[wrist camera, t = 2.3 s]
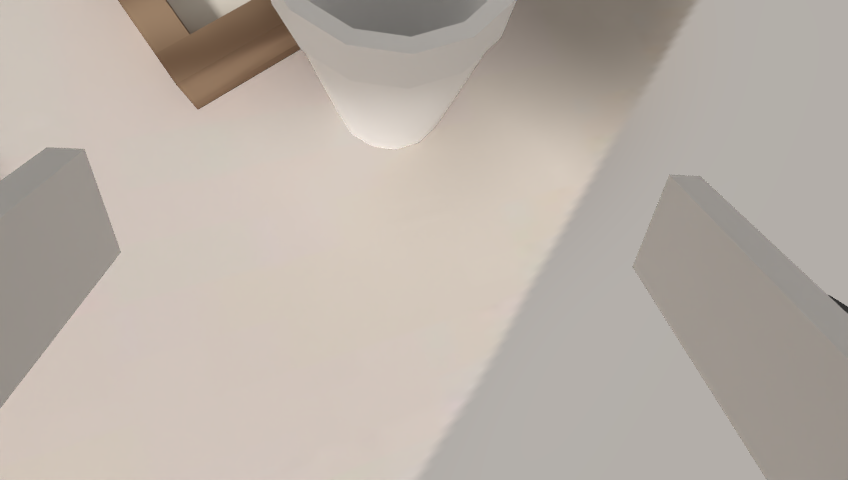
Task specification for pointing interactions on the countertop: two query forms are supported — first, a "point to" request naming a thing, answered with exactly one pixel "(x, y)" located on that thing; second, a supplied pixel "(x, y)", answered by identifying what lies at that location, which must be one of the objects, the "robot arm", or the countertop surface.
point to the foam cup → (394, 58)
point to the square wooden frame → (212, 41)
